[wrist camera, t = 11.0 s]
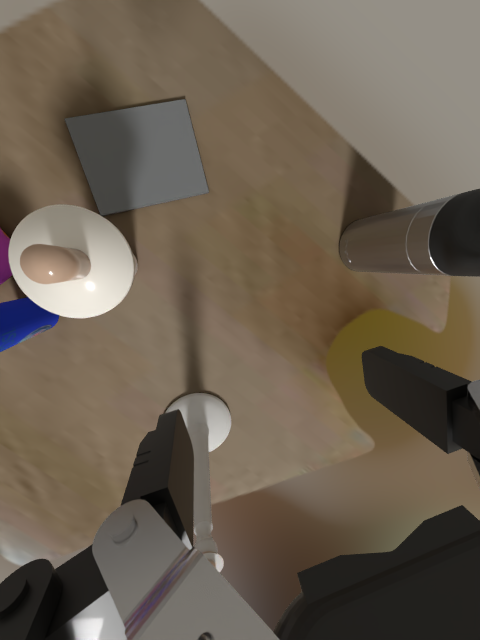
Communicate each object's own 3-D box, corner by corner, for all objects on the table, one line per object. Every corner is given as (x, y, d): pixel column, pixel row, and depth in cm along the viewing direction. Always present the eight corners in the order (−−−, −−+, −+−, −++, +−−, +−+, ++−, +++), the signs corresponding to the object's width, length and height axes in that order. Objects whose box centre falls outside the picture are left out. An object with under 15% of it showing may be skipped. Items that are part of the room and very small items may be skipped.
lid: (112, 196, 23) (87, 173, 17) (149, 300, 25) (138, 311, 19) (-6, 221, 21) (-78, 205, 15) (46, 328, 24) (2, 349, 18)
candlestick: (147, 415, 44) (73, 701, 15) (211, 380, 45) (254, 587, 16) (183, 464, 47) (176, 769, 19) (241, 431, 49) (318, 672, 20)
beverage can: (28, 332, 37) (-73, 375, 23) (16, 298, 36) (-99, 321, 21) (65, 326, 38) (-9, 364, 23) (55, 293, 37) (-30, 311, 22)
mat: (185, 101, 35) (185, 99, 34) (208, 192, 38) (208, 191, 37) (66, 121, 32) (64, 118, 32) (101, 216, 36) (100, 215, 35)
